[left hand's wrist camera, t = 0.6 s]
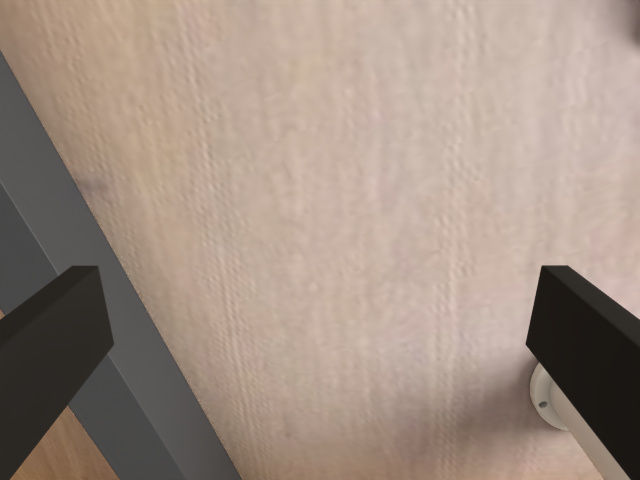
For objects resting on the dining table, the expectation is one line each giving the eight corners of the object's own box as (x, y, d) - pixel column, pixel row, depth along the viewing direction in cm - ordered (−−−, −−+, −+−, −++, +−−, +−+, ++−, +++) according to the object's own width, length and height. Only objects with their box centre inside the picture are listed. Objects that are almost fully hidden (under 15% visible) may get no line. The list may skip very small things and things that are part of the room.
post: (-274, -263, 27) (-489, -389, 20) (-200, -305, 27) (-396, -452, 19) (229, 544, 54) (215, 617, 47) (272, 534, 53) (265, 605, 46)
